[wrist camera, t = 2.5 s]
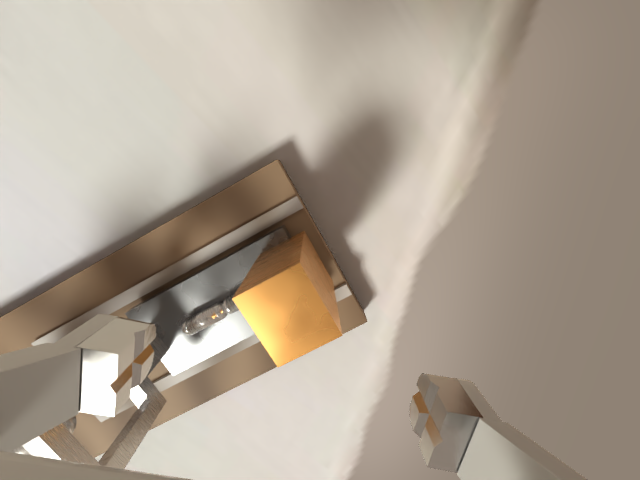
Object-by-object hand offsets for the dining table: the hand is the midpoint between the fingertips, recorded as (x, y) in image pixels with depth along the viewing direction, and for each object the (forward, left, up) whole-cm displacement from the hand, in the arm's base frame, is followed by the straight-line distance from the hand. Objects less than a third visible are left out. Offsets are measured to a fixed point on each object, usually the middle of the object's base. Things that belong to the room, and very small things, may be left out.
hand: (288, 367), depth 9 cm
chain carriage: (-5, 0, -10) cm, 11 cm away
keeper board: (-10, 0, -12) cm, 15 cm away
